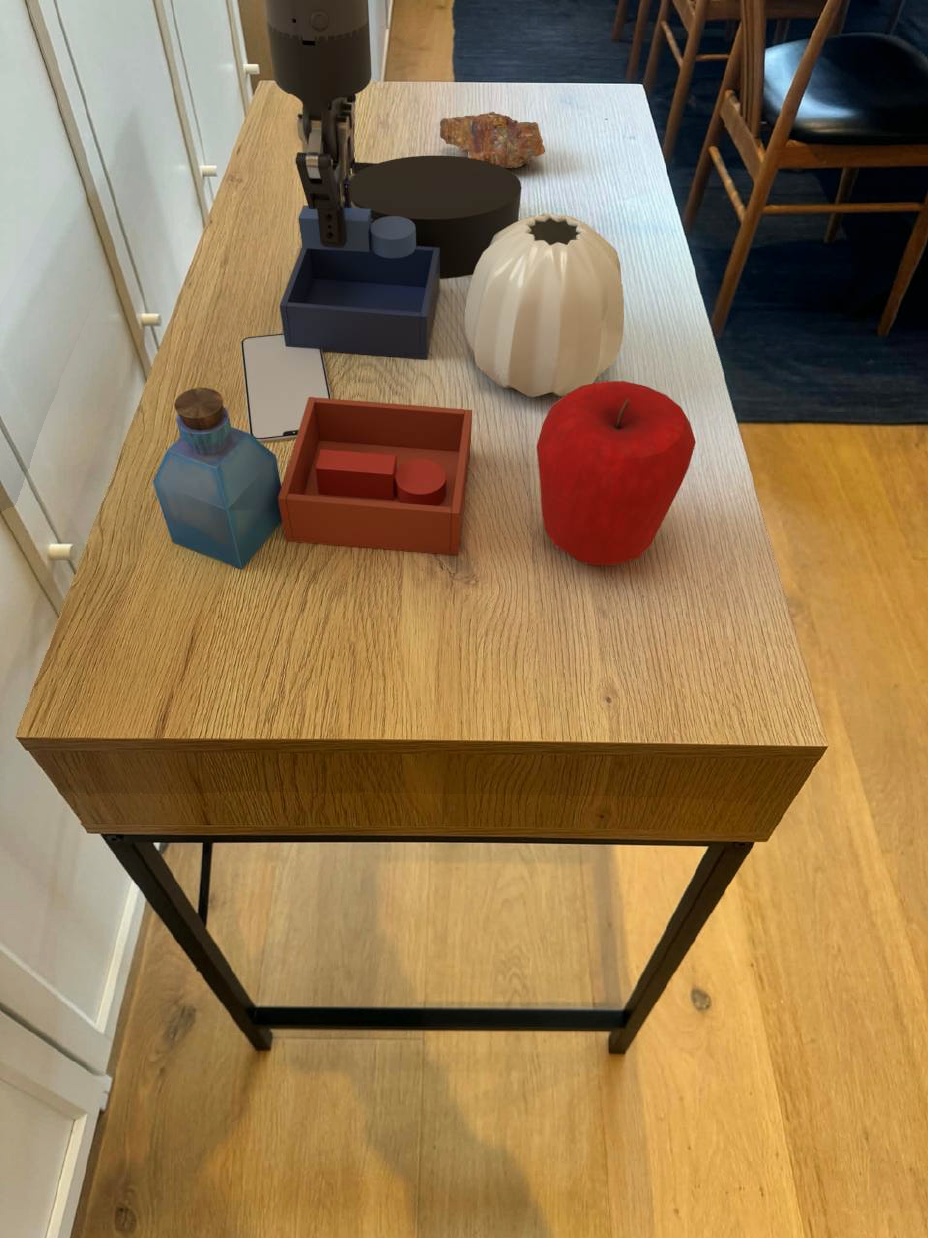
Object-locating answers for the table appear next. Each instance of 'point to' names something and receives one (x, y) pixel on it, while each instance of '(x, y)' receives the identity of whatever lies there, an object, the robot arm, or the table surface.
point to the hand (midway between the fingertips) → (336, 236)
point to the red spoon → (380, 477)
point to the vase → (545, 306)
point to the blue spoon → (363, 233)
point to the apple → (611, 469)
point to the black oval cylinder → (441, 203)
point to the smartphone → (280, 385)
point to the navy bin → (362, 302)
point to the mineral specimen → (494, 138)
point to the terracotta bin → (408, 438)
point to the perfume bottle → (217, 483)
